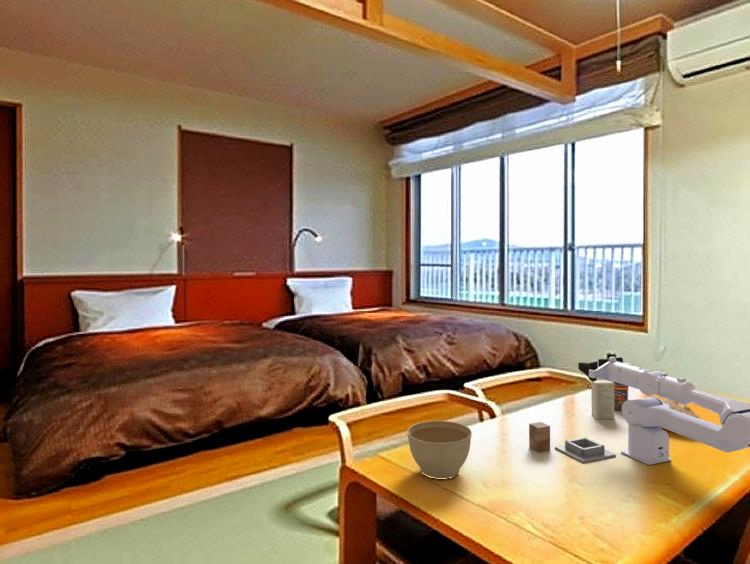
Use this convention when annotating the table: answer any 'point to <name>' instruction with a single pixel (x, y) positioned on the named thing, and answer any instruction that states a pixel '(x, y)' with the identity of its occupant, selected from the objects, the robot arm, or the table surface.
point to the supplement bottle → (620, 395)
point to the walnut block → (539, 437)
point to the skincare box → (602, 399)
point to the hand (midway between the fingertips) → (589, 364)
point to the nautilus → (679, 407)
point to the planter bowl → (439, 447)
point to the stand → (585, 450)
